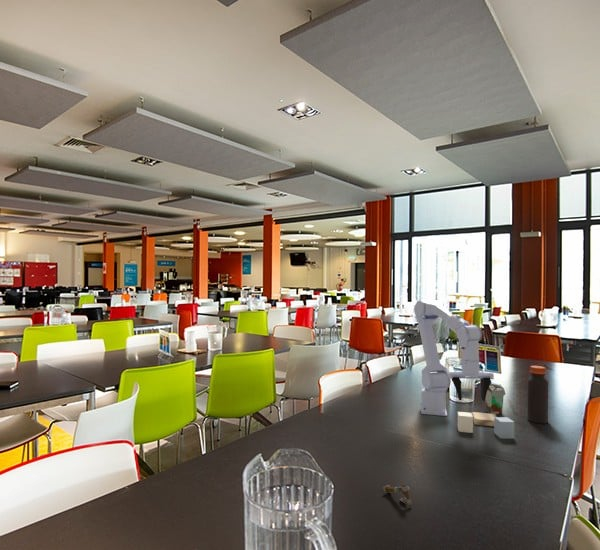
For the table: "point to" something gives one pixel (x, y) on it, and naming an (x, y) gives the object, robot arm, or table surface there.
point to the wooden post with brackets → (400, 489)
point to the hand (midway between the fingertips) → (471, 399)
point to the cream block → (465, 422)
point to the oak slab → (483, 418)
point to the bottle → (537, 396)
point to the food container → (494, 399)
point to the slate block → (504, 427)
